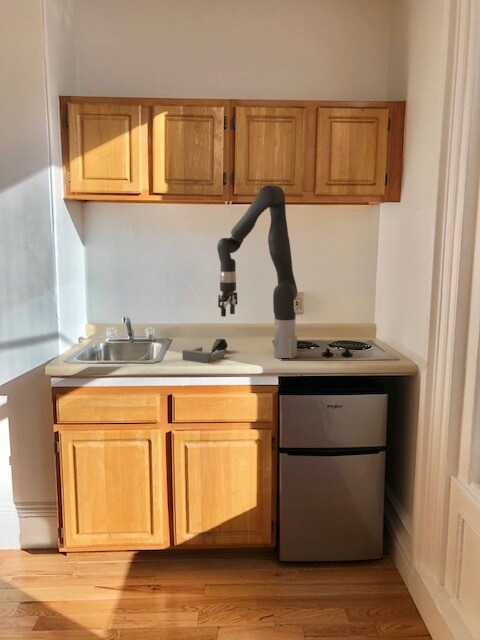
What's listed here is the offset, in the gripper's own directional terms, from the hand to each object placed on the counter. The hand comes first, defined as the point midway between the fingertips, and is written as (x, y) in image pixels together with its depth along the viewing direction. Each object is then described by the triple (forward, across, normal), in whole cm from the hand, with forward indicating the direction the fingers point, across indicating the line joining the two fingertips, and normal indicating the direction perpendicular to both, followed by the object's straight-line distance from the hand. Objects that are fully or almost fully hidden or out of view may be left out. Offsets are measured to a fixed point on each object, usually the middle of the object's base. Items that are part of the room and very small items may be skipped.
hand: (228, 315), depth 241 cm
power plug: (+17, -10, 0) cm, 19 cm away
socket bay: (+16, -21, 0) cm, 27 cm away
